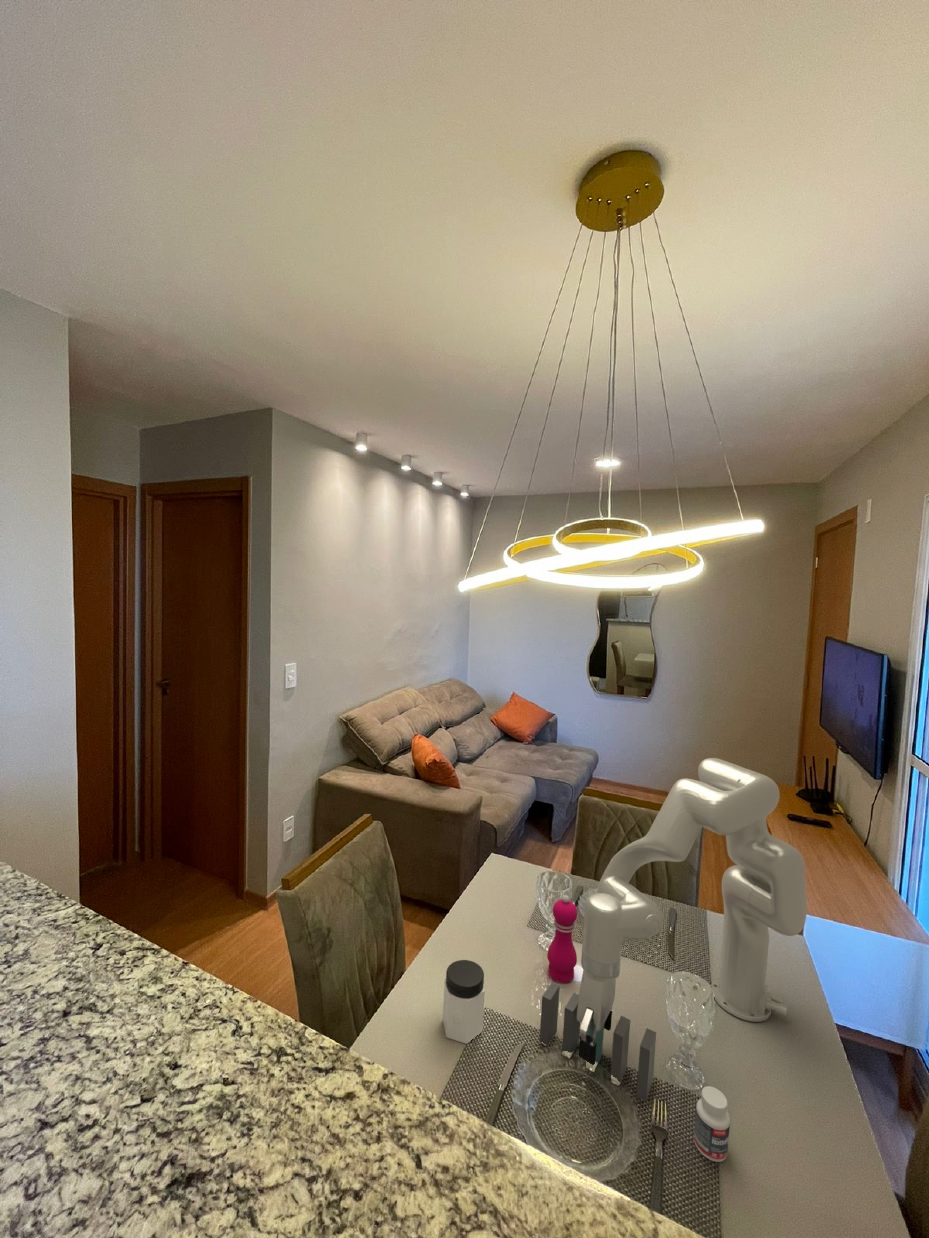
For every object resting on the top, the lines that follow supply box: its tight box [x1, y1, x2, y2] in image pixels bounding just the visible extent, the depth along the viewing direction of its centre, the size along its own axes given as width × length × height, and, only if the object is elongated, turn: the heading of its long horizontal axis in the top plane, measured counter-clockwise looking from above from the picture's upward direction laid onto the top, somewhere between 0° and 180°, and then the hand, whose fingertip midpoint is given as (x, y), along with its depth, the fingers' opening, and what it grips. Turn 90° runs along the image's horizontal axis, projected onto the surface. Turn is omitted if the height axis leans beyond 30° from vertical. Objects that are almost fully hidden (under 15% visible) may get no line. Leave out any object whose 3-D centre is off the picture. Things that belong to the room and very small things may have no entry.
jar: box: [442, 959, 486, 1045], centre depth 110 cm, size 9×8×12 cm
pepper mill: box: [546, 894, 578, 984], centre depth 128 cm, size 7×7×20 cm
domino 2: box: [561, 992, 581, 1052], centre depth 107 cm, size 2×5×10 cm, turn 147°
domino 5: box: [636, 1027, 657, 1103], centre depth 98 cm, size 2×5×10 cm, turn 147°
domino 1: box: [538, 981, 561, 1046], centre depth 109 cm, size 2×5×10 cm, turn 147°
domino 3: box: [588, 1020, 605, 1062], centre depth 104 cm, size 2×5×10 cm, turn 147°
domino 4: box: [610, 1015, 631, 1083], centre depth 101 cm, size 2×5×10 cm, turn 147°
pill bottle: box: [693, 1085, 731, 1163], centre depth 89 cm, size 5×5×9 cm
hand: (595, 1042), depth 104 cm, fingers open, 9 cm apart
